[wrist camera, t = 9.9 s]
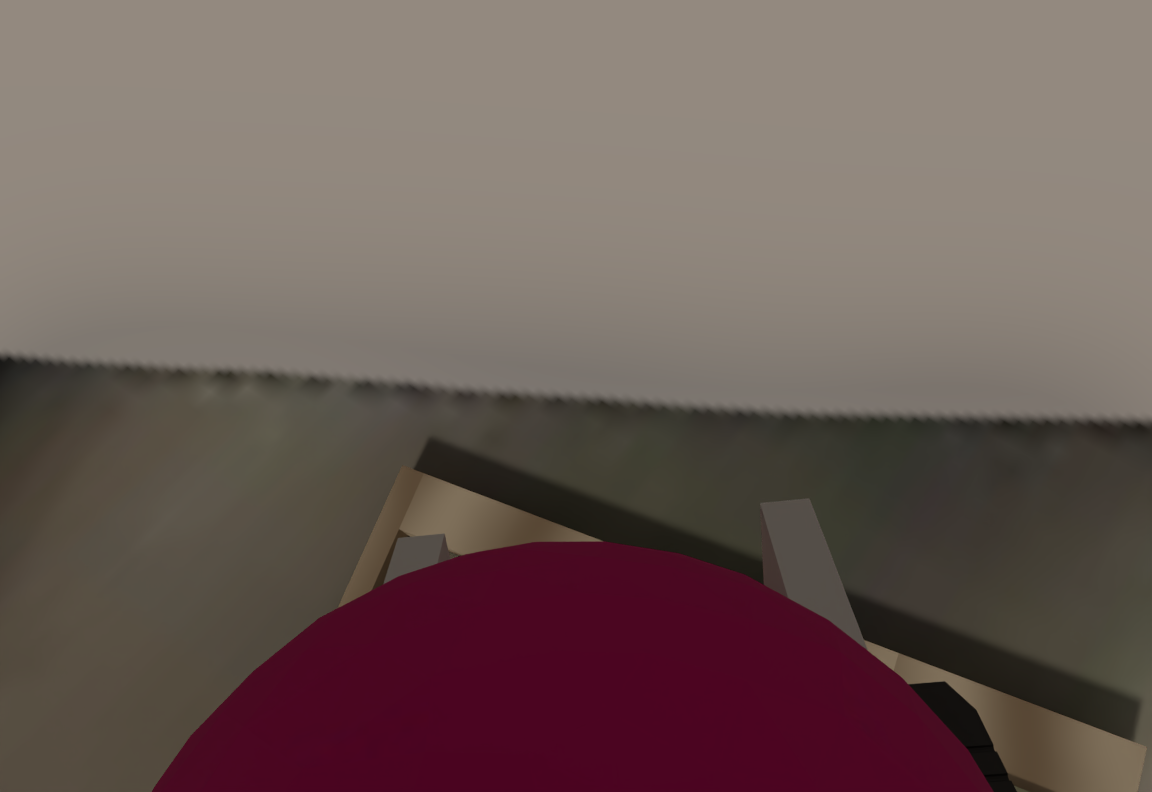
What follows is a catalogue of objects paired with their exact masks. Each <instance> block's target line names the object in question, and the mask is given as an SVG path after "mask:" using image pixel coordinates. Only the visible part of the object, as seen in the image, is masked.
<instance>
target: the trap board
mask: <svg viewBox="0 0 1152 792" xmlns="http://www.w3.org/2000/svg"><path fill="white" fill-rule="evenodd" d="M444 533H445V537H446V542H447V546H448V551H449V552H452V553H454V554H457V555H460V556H462V555H465V554H470V553H475V552H480V551H485V550H491V549H497V548H503V547H508V546H514V545H520V544H526V543H532V542H581V541H601V540H599V539H596V538H593V537H591V536H588V535H585V534H583V533H580V532H577V531H575V530H572V529H570V528H567V527H564V526H562V525H559V524H556V523H554V522H551V521H548V520H546V519H543V518H540V517H538V516H535V515H533V514H530V513H527V512H525V511H522V510H519V509H517V508H514V507H511V506H509V505H506V504H503V503H501V502H498V501H496V500H493V499H490V498H488V497H485V496H482V495H480V494H477V493H474V492H472V491H469V490H467V489H464V488H461V487H459V486H456V485H453V484H451V483H448V482H445V481H443V480H440V479H437V478H435V477H432V476H430V475H427V474H424V473H422V472H419V471H416V470H414V469H411V468H408V467H406V466H403V465H402V467H401V470H400V472H399V474H398V476H397V478H396V481H395V483H394V485H393V487H392V490H391V492H390V494H389V496H388V498H387V501H386V503H385V505H384V507H383V509H382V512H381V514H380V516H379V518H378V520H377V523H376V525H375V527H374V529H373V531H372V534H371V536H370V538H369V540H368V542H367V545H366V547H365V549H364V551H363V553H362V556H361V558H360V560H359V562H358V564H357V567H356V569H355V571H354V573H353V575H352V578H351V580H350V582H349V584H348V586H347V589H346V591H345V593H344V595H343V597H342V600H341V602H340V604H339V606H338V608H339V607H341V606H343V605H345V604H347V603H349V602H351V601H353V600H354V599H356V598H358V597H360V596H362V595H364V594H366V593H368V592H370V591H372V590H373V589H375V588H377V587H379V586H381V585H383V583H384V580H385V577H386V574H387V571H388V568H389V564H390V561H391V558H392V555H393V552H394V549H395V546H396V542H397V539H398V538H403V537H408V535H409V536H411V537H413V536H423V535H434V534H444ZM864 642H865V644H866V647H867V649H868V651H869V652H870V653H871V654H873V655H874V656H875V657H877V658H878V659H879V660H880V661H882V662H883V663H884V664H886V665H887V666H888V667H889V668H891V669H892V670H893V671H894V672H896V673H897V674H898V675H900V676H901V677H902V678H903V679H904V680H905V681H906V682H907V684H917V683H929V682H941V681H945V682H946V683H948V684H949V685H950V686H951V687H952V688H953V689H954V690H955V691H956V692H957V693H958V694H960V695H961V696H962V697H963V698H964V699H965V700H966V701H967V702H968V703H969V704H971V705H972V706H973V707H974V708H975V709H976V710H977V712H978V714H979V716H980V718H981V720H982V722H983V724H984V726H985V728H986V730H987V732H988V734H989V736H990V738H991V740H992V742H993V744H994V750H995V752H996V751H997V753H998V755H999V757H1000V759H1001V761H1002V763H1003V765H1004V767H1005V769H1006V771H1007V773H1008V778H1009V781H1012V783H1013V785H1014V787H1015V789H1016V791H1017V792H1138V788H1139V783H1140V778H1141V773H1142V769H1143V764H1144V759H1145V754H1146V749H1147V747H1145V746H1143V745H1140V744H1137V743H1135V742H1132V741H1129V740H1127V739H1124V738H1122V737H1119V736H1116V735H1114V734H1111V733H1108V732H1106V731H1103V730H1100V729H1098V728H1095V727H1092V726H1090V725H1087V724H1085V723H1082V722H1079V721H1077V720H1074V719H1071V718H1069V717H1066V716H1063V715H1061V714H1058V713H1056V712H1053V711H1050V710H1048V709H1045V708H1042V707H1040V706H1037V705H1034V704H1032V703H1029V702H1026V701H1024V700H1021V699H1019V698H1016V697H1013V696H1011V695H1008V694H1005V693H1003V692H1000V691H997V690H995V689H992V688H989V687H987V686H984V685H982V684H979V683H976V682H974V681H971V680H968V679H966V678H963V677H960V676H958V675H955V674H953V673H950V672H947V671H945V670H942V669H939V668H937V667H934V666H931V665H929V664H926V663H923V662H921V661H918V660H916V659H913V658H910V657H908V656H905V655H902V654H900V653H897V652H894V651H892V650H889V649H886V648H884V647H881V646H879V645H876V644H873V643H871V642H868V641H865V640H864Z"/></svg>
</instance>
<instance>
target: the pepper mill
mask: <svg viewBox="0 0 1152 792" xmlns="http://www.w3.org/2000/svg"><path fill="white" fill-rule="evenodd" d="M152 792H994V791H993V790H992V788H991V786H990V785H989V783H988V782H987V780H986V778H985V777H984V775H983V773H982V772H981V770H980V769H979V767H978V765H977V764H976V762H975V760H974V759H973V757H972V756H971V754H970V752H969V751H968V749H967V748H966V747H965V746H964V745H963V744H962V743H961V742H960V741H959V739H958V738H957V737H956V736H955V735H954V734H953V733H952V732H951V731H950V730H949V728H948V727H947V726H946V725H945V724H944V723H943V722H942V721H941V720H940V719H939V718H938V716H937V715H936V714H935V713H934V712H933V711H932V710H931V709H930V708H929V707H928V705H927V704H926V703H925V702H924V701H923V700H922V699H921V698H920V697H919V696H918V694H917V693H916V692H915V691H914V690H913V689H912V688H911V687H910V686H909V685H908V684H907V682H906V681H905V680H904V679H903V678H902V677H901V676H900V675H898V674H897V673H896V672H894V671H893V670H892V669H891V668H889V667H888V666H887V665H886V664H884V663H883V662H882V661H880V660H879V659H878V658H877V657H875V656H874V655H873V654H871V653H870V652H869V651H868V650H866V649H865V648H864V647H862V646H861V645H860V644H859V643H857V642H856V641H855V640H854V639H852V638H851V637H850V636H848V635H847V634H846V633H845V632H843V631H842V630H841V629H839V628H838V627H837V626H836V625H834V624H833V623H832V622H831V621H829V620H828V619H826V618H824V617H822V616H820V615H818V614H817V613H815V612H813V611H811V610H809V609H807V608H806V607H804V606H802V605H800V604H798V603H796V602H794V601H793V600H791V599H789V598H787V597H785V596H783V595H782V594H780V593H778V592H776V591H774V590H772V589H771V588H769V587H767V586H765V585H763V584H761V583H759V582H758V581H756V580H754V579H752V578H750V577H748V576H747V575H744V574H741V573H738V572H735V571H732V570H729V569H726V568H723V567H720V566H717V565H714V564H711V563H708V562H704V561H701V560H698V559H695V558H692V557H689V556H686V555H683V554H680V553H674V552H668V551H661V550H655V549H649V548H642V547H636V546H630V545H623V544H617V543H611V542H604V541H581V542H532V543H526V544H520V545H514V546H508V547H503V548H497V549H491V550H485V551H480V552H475V553H470V554H465V555H462V556H459V557H456V558H453V559H450V560H446V561H443V562H440V563H437V564H434V565H431V566H428V567H425V568H422V569H419V570H416V571H413V572H410V573H407V574H404V575H401V576H398V577H396V578H394V579H392V580H391V581H389V582H387V583H385V584H383V585H381V586H379V587H377V588H375V589H373V590H372V591H370V592H368V593H366V594H364V595H362V596H360V597H358V598H356V599H354V600H353V601H351V602H349V603H347V604H345V605H343V606H341V607H339V608H337V609H335V610H334V611H332V612H330V613H328V614H326V615H324V616H322V617H320V618H319V619H317V620H316V621H315V622H314V623H312V624H311V625H310V626H309V627H308V628H306V629H305V630H304V631H303V632H301V633H300V634H299V635H298V636H296V637H295V638H294V639H293V640H291V641H290V642H289V643H288V644H287V645H285V646H284V647H283V648H282V649H280V650H279V651H278V652H277V653H275V654H274V655H273V656H272V657H270V658H269V659H268V660H267V661H266V662H264V663H263V664H262V665H261V666H259V667H258V668H257V669H256V670H254V671H253V672H252V673H251V674H250V675H249V676H248V677H247V678H246V679H245V680H244V681H243V682H242V683H241V685H240V686H239V687H238V688H237V689H236V690H235V691H234V692H233V693H232V694H231V695H230V696H229V697H228V698H227V699H226V700H225V701H224V702H223V703H222V704H221V705H220V706H219V707H218V708H217V709H216V710H215V711H214V712H213V713H212V714H211V715H210V717H209V718H208V719H207V720H206V721H205V722H204V723H203V724H202V725H201V726H200V727H199V728H198V729H197V730H196V731H195V732H194V733H193V734H192V735H191V736H190V738H189V739H188V740H187V742H186V743H185V745H184V746H183V747H182V749H181V750H180V752H179V753H178V755H177V756H176V757H175V759H174V760H173V762H172V763H171V764H170V766H169V767H168V769H167V770H166V771H165V773H164V774H163V776H162V777H161V779H160V780H159V781H158V783H157V784H156V786H155V787H154V789H153V791H152Z"/></svg>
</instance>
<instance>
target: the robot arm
mask: <svg viewBox="0 0 1152 792" xmlns="http://www.w3.org/2000/svg"><path fill="white" fill-rule="evenodd" d="M760 512H761V534H762V556H763V578H764V585H765V586H767V587H769V588H771V589H772V590H774V591H776V592H778V593H780V594H782V595H783V596H785V597H787V598H789V599H791V600H793V601H794V602H796V603H798V604H800V605H802V606H804V607H806V608H807V609H809V610H811V611H813V612H815V613H817V614H818V615H820V616H822V617H824V618H826V619H828V620H829V621H831V622H832V623H833V624H834V625H836V626H837V627H838V628H839V629H841V630H842V631H843V632H845V633H846V634H847V635H848V636H850V637H851V638H852V639H854V640H855V641H856V642H857V643H859V644H860V645H861V646H862V647H864V648H865V649H866V650H868V649H867V647H866V644H865V642H864V639H863V637H862V634H861V631H860V629H859V626H858V624H857V621H856V618H855V616H854V613H853V611H852V608H851V605H850V603H849V600H848V598H847V595H846V592H845V590H844V587H843V585H842V582H841V579H840V577H839V574H838V572H837V569H836V566H835V564H834V561H833V559H832V556H831V553H830V551H829V548H828V546H827V543H826V540H825V538H824V535H823V533H822V530H821V527H820V525H819V522H818V520H817V517H816V514H815V512H814V509H813V507H812V504H811V501H810V499H809V498H808V499H798V500H788V501H777V502H767V503H760ZM446 560H450V555H449V551H448V546H447V542H446V537H445V533H444V534H434V535H423V536H413V537H403V538H398V539H397V542H396V546H395V549H394V552H393V555H392V558H391V561H390V564H389V568H388V571H387V574H386V577H385V580H384V583H383V584H385V583H387V582H389V581H391V580H392V579H394V578H396V577H398V576H401V575H404V574H407V573H410V572H413V571H416V570H419V569H422V568H425V567H428V566H431V565H434V564H437V563H440V562H443V561H446ZM908 685H909V686H910V687H911V688H912V689H913V690H914V691H915V692H916V693H917V694H918V696H919V697H920V698H921V699H922V700H923V701H924V702H925V703H926V704H927V705H928V707H929V708H930V709H931V710H932V711H933V712H934V713H935V714H936V715H937V716H938V718H939V719H940V720H941V721H942V722H943V723H944V724H945V725H946V726H947V727H948V728H949V730H950V731H951V732H952V733H953V734H954V735H955V736H956V737H957V738H958V739H959V741H960V742H961V743H962V744H963V745H964V746H965V747H966V748H967V749H968V751H969V752H970V754H971V756H972V757H973V759H974V760H975V762H976V764H977V765H978V767H979V769H980V770H981V772H982V773H983V775H984V777H985V778H986V780H987V782H988V783H989V785H990V786H991V788H992V790H993V791H994V792H1017V791H1016V789H1015V787H1014V785H1013V783H1012V781H1009V778H1008V773H1007V771H1006V769H1005V767H1004V765H1003V763H1002V761H1001V759H1000V757H999V755H998V753H997V751H996V752H995V750H994V744H993V742H992V740H991V738H990V736H989V734H988V732H987V730H986V728H985V726H984V724H983V722H982V720H981V718H980V716H979V714H978V712H977V710H976V709H975V708H974V707H973V706H972V705H971V704H969V703H968V702H967V701H966V700H965V699H964V698H963V697H962V696H961V695H960V694H958V693H957V692H956V691H955V690H954V689H953V688H952V687H951V686H950V685H949V684H948V683H946V682H945V681H941V682H929V683H917V684H908Z"/></svg>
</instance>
